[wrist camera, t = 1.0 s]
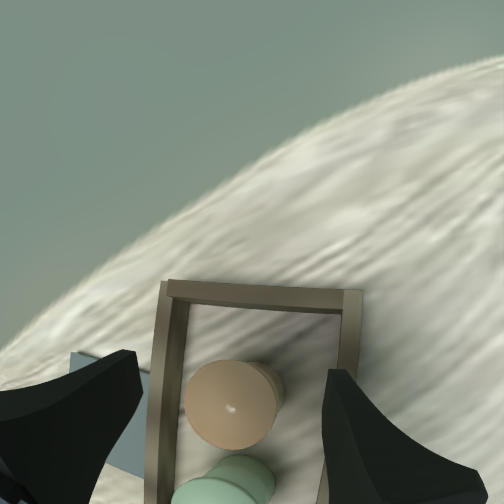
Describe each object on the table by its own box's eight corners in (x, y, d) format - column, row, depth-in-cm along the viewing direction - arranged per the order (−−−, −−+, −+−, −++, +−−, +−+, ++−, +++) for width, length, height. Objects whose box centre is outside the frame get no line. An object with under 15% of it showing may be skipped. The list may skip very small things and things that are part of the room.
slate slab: (154, 477, 22) (148, 480, 21) (74, 442, 25) (67, 443, 24) (160, 375, 25) (154, 376, 24) (77, 352, 28) (70, 352, 27)
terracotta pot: (285, 431, 21) (269, 457, 16) (215, 419, 23) (180, 438, 17) (294, 360, 23) (280, 365, 17) (221, 352, 24) (188, 353, 19)
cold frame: (321, 544, 17) (316, 570, 14) (161, 509, 21) (138, 526, 17) (358, 298, 23) (363, 290, 19) (178, 287, 27) (154, 277, 23)
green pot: (275, 516, 19) (255, 558, 13) (205, 501, 21) (170, 535, 15) (284, 457, 21) (266, 491, 15) (210, 443, 22) (172, 469, 16)
